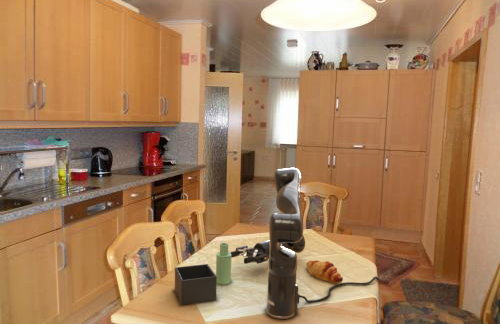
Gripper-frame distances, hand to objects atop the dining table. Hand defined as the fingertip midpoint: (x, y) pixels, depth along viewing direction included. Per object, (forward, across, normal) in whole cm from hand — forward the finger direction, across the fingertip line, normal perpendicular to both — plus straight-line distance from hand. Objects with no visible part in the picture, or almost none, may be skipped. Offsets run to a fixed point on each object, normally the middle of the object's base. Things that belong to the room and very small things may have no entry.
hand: (237, 257), depth 155 cm
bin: (+22, +3, +8) cm, 23 cm away
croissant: (-30, +20, +8) cm, 37 cm away
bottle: (+7, 0, +8) cm, 11 cm away
